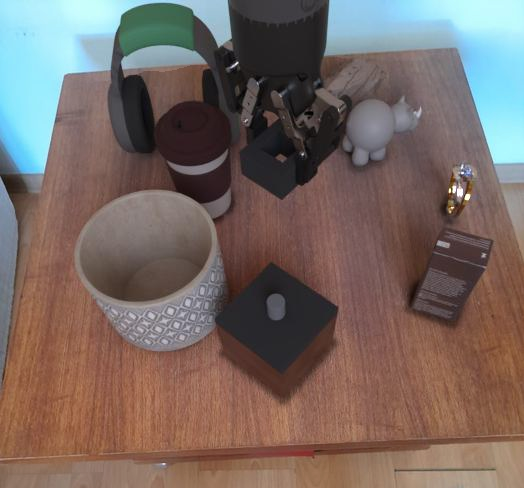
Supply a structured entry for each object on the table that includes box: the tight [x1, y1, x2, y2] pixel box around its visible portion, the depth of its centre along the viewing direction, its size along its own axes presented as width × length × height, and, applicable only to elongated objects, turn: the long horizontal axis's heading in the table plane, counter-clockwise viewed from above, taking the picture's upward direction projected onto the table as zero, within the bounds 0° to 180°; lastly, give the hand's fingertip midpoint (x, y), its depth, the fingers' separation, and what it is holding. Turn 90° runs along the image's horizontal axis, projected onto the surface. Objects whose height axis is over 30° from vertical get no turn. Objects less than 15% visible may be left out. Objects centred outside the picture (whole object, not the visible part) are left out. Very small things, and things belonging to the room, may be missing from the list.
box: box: [409, 225, 494, 323], centre depth 59 cm, size 6×4×12 cm
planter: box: [73, 189, 229, 352], centre depth 61 cm, size 16×16×13 cm
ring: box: [445, 159, 478, 219], centre depth 68 cm, size 7×3×8 cm, turn 168°
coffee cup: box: [154, 100, 232, 220], centre depth 67 cm, size 10×10×15 cm
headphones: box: [107, 2, 242, 155], centre depth 71 cm, size 19×11×20 cm, turn 93°
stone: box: [295, 56, 388, 121], centre depth 78 cm, size 15×9×10 cm
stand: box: [216, 312, 339, 399], centre depth 59 cm, size 10×10×8 cm
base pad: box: [215, 261, 339, 374], centre depth 54 cm, size 10×10×4 cm
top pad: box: [238, 117, 322, 201], centre depth 49 cm, size 6×6×3 cm
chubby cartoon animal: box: [341, 94, 423, 167], centre depth 73 cm, size 7×12×8 cm, turn 107°
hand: (281, 165), depth 50 cm, fingers closed on top pad, 5 cm apart
